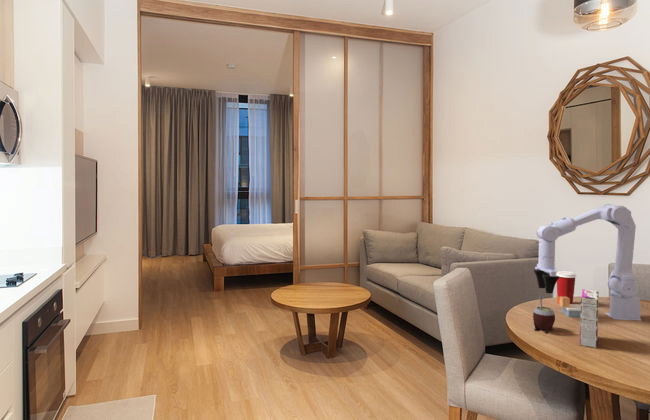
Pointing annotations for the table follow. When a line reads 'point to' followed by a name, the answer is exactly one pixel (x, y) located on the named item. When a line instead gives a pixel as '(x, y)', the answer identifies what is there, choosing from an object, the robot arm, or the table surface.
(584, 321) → the candy bar box
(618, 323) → the table surface
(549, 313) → the mate gourd
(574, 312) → the tub
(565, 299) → the lid
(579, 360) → the table surface
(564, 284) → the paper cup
